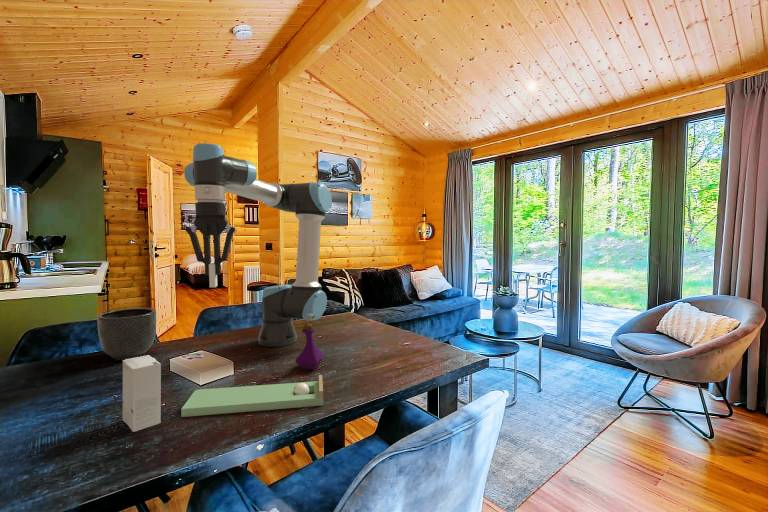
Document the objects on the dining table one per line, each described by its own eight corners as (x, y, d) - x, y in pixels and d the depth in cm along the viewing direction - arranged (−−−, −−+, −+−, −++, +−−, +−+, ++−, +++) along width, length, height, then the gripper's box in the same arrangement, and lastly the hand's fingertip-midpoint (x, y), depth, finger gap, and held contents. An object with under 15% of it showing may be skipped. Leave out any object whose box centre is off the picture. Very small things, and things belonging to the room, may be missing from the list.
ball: (310, 381, 101) (308, 395, 101) (295, 380, 101) (293, 394, 101) (310, 386, 98) (308, 401, 98) (294, 385, 97) (292, 400, 97)
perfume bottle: (316, 372, 117) (316, 317, 116) (294, 370, 119) (294, 316, 118) (325, 364, 125) (324, 312, 123) (304, 362, 126) (303, 311, 125)
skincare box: (122, 421, 87) (119, 359, 86) (150, 411, 91) (148, 353, 90) (133, 433, 81) (130, 368, 80) (163, 423, 86) (161, 361, 85)
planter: (87, 361, 126) (85, 315, 125) (137, 347, 142) (135, 306, 141) (120, 368, 120) (118, 320, 119) (168, 352, 136) (167, 310, 135)
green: (195, 397, 100) (195, 383, 99) (322, 387, 106) (322, 374, 106) (181, 417, 89) (180, 401, 88) (323, 405, 95) (323, 391, 95)
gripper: (180, 200, 96) (184, 289, 98) (233, 201, 99) (236, 287, 101) (188, 202, 103) (192, 285, 105) (237, 203, 106) (240, 283, 108)
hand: (213, 286), depth 103 cm, fingers closed
